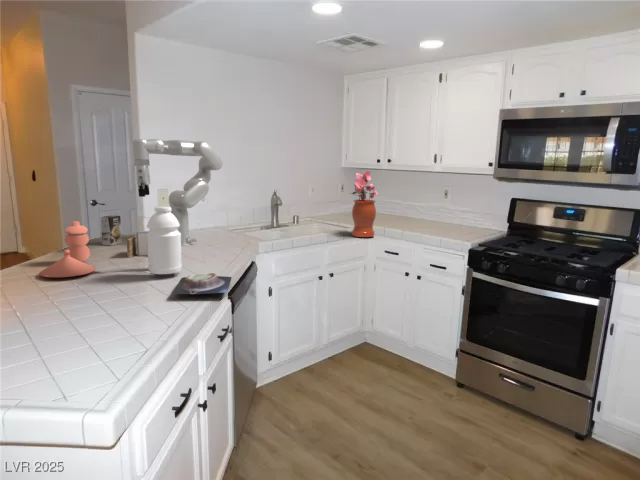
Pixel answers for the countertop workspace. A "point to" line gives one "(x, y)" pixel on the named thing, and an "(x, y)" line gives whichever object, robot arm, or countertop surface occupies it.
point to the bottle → (164, 242)
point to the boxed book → (142, 243)
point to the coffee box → (111, 230)
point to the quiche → (202, 284)
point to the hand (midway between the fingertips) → (144, 195)
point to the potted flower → (363, 207)
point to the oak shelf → (132, 246)
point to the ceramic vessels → (72, 254)
